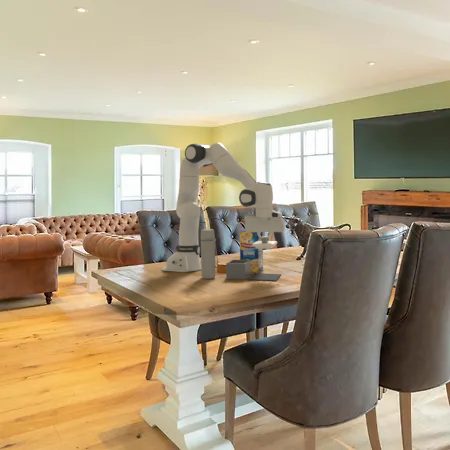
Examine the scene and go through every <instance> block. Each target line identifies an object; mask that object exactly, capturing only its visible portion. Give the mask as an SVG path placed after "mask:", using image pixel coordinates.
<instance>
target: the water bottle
mask: <svg viewBox="0 0 450 450" xmlns="http://www.w3.org/2000/svg"><path fill="white" fill-rule="evenodd" d="M216 241H217V238H216V236H215V230H214V229H213V228H210V229H209V228H207V229H206V228H205V229H204V228H203V229H201V232H200V256H201V257H200V263H201V270H200V271H201V278H202V279H205V280H211V279H214V278H216V268H217V269H218V266H219V261H218V260H219V259H218V252H217V243H216Z"/></svg>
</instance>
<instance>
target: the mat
mask: <svg viewBox="0 0 450 450" xmlns="http://www.w3.org/2000/svg"><path fill="white" fill-rule="evenodd" d="M280 277H282V273H260V272H254V274H252V275H250V276H249V277H248V278H247V279H248V281H258V282H262V281H263V282H277V281H278V280H279V278H280Z"/></svg>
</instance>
